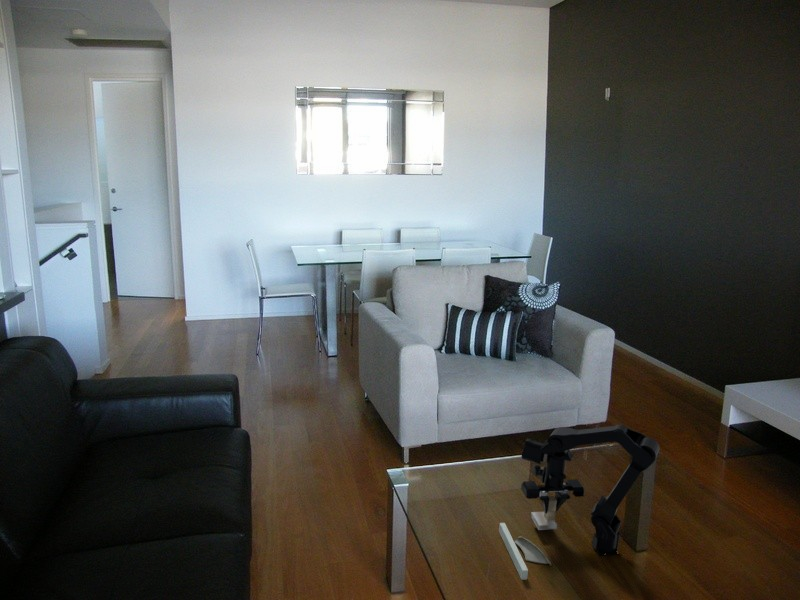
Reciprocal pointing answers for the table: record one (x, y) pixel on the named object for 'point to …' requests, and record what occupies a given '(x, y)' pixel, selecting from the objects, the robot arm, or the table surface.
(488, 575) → the table surface
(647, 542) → the table surface
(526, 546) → the ceramic fragment
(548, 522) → the plate with square post
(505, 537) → the stop rail
